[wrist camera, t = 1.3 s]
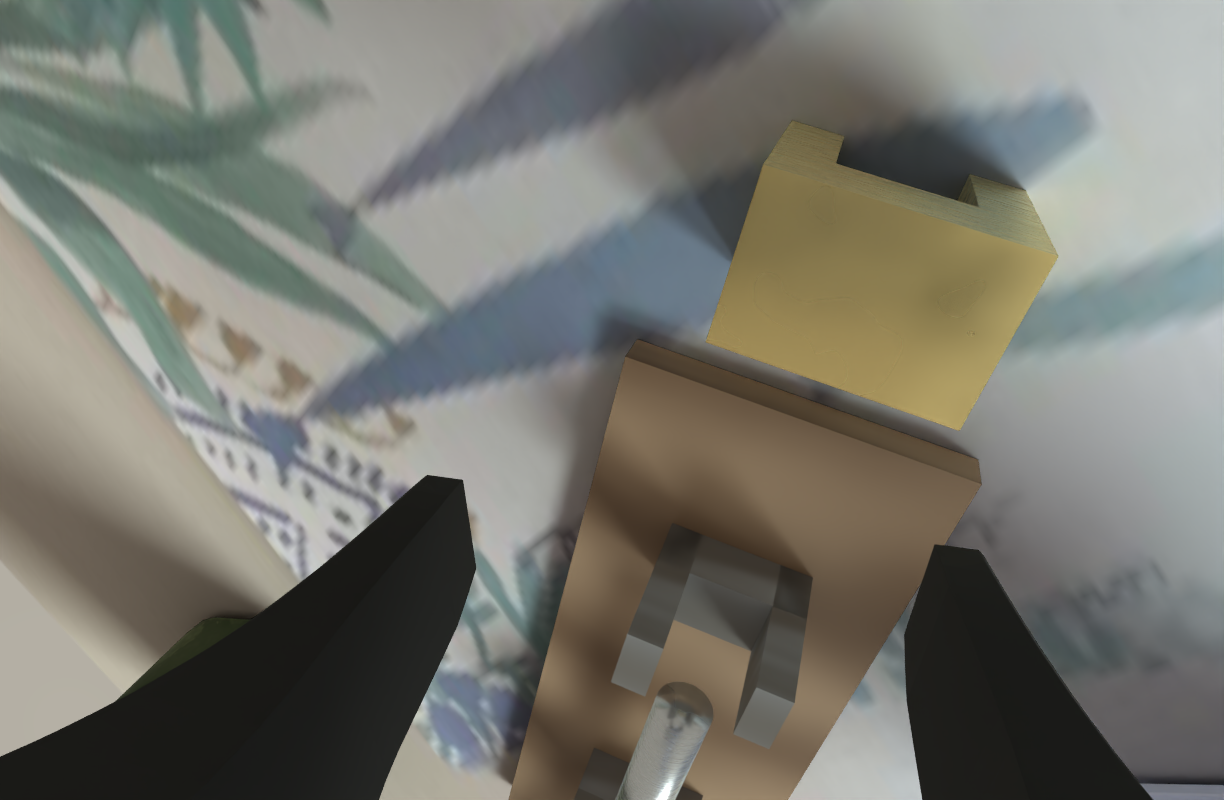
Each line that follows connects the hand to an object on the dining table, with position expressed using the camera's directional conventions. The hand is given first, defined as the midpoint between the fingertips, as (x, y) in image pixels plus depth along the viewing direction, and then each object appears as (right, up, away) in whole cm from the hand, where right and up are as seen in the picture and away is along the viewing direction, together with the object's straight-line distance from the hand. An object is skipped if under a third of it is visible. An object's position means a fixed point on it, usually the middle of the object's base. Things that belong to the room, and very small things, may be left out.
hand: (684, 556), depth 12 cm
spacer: (+5, +7, +7) cm, 11 cm away
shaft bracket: (+2, -7, +17) cm, 18 cm away
